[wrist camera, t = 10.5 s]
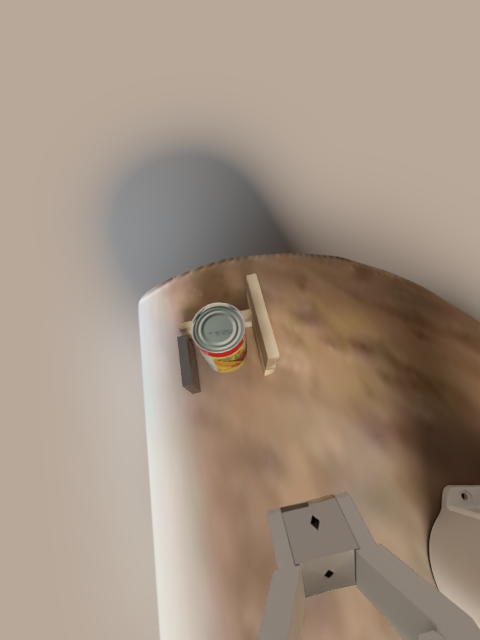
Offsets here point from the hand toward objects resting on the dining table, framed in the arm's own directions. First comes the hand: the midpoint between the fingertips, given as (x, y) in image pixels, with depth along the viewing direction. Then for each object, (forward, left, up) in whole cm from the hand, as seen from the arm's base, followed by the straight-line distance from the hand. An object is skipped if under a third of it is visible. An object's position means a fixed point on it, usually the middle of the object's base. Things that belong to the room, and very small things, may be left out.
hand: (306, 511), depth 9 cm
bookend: (+9, -16, -33) cm, 38 cm away
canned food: (+3, -18, -34) cm, 38 cm away
